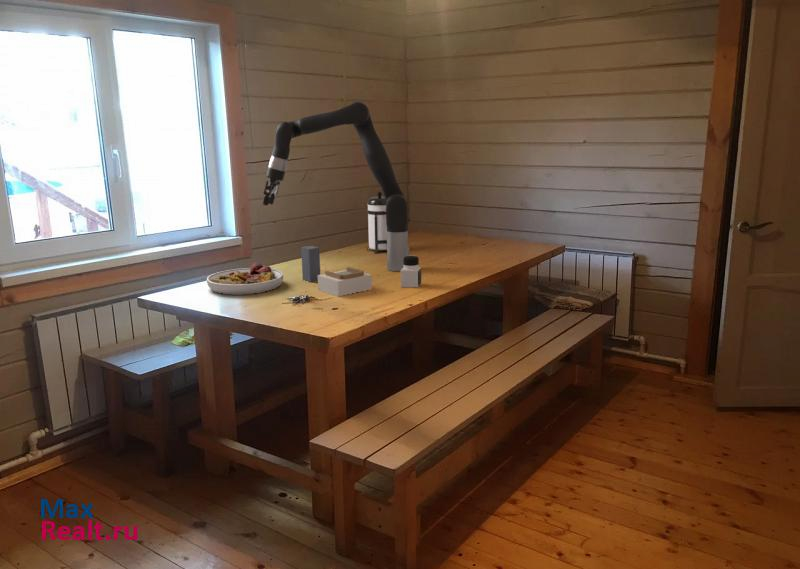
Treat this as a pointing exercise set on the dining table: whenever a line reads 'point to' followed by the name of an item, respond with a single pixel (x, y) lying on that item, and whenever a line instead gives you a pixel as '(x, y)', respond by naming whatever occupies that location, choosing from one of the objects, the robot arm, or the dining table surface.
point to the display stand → (344, 282)
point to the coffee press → (377, 223)
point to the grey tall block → (310, 263)
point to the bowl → (245, 280)
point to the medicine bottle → (411, 272)
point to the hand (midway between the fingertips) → (267, 204)
